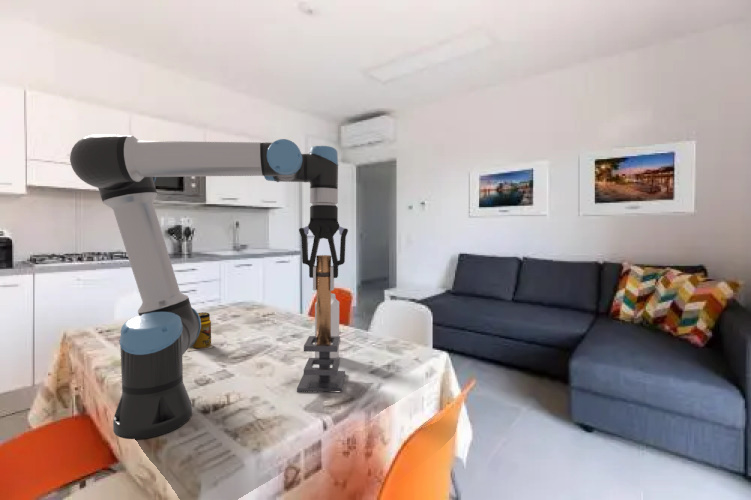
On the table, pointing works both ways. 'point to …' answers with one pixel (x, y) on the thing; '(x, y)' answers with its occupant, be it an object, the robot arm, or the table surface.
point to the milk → (332, 323)
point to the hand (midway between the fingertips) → (323, 289)
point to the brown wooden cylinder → (323, 300)
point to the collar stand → (322, 368)
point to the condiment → (203, 334)
